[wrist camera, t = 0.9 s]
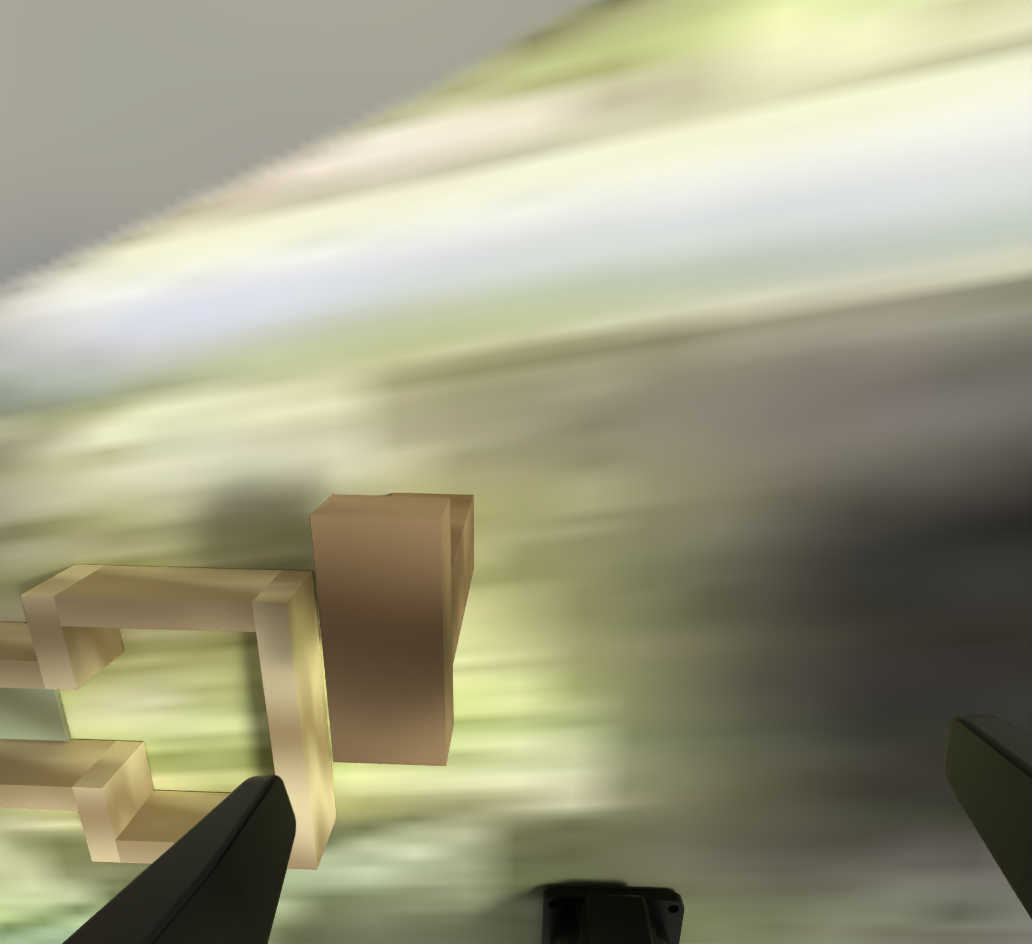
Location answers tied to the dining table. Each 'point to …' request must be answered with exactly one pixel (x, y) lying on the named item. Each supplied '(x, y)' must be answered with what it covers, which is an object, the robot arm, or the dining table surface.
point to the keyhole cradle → (123, 764)
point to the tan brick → (392, 620)
